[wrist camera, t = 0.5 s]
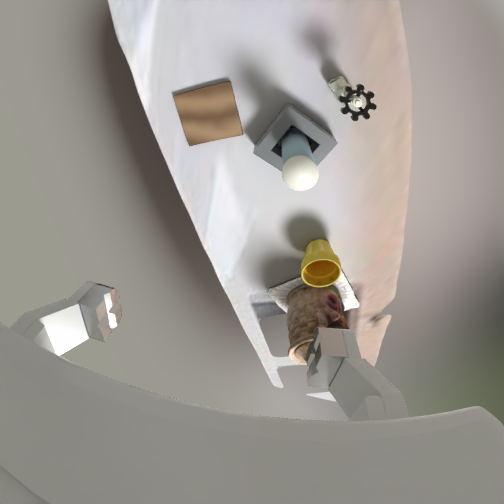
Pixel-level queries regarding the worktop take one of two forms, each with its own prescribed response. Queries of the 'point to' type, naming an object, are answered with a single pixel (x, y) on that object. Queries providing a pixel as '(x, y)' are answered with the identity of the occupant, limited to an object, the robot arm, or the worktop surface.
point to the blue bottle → (298, 161)
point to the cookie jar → (312, 310)
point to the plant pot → (320, 264)
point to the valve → (351, 97)
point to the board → (209, 113)
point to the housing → (281, 124)
